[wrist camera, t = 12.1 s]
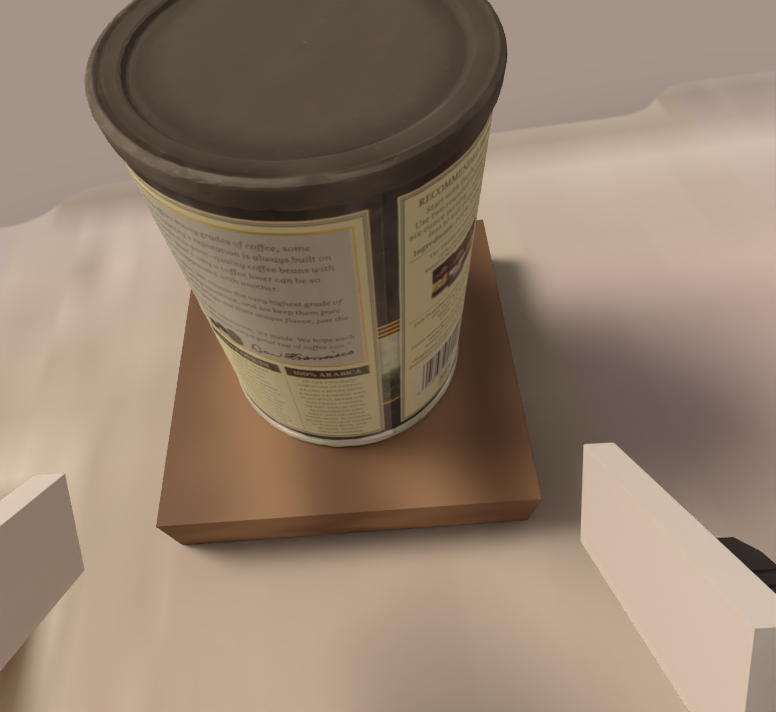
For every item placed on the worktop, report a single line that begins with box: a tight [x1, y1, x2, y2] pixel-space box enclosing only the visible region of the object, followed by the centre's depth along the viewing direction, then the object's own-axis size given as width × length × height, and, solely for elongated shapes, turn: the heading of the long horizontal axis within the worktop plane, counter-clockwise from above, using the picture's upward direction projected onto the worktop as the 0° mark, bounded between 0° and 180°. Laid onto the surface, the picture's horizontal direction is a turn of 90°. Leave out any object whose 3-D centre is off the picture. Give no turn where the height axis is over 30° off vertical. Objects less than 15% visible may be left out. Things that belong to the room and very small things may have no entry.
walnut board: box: [156, 220, 542, 545], centre depth 27 cm, size 15×15×3 cm
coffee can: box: [85, 0, 507, 447], centre depth 20 cm, size 10×10×14 cm
